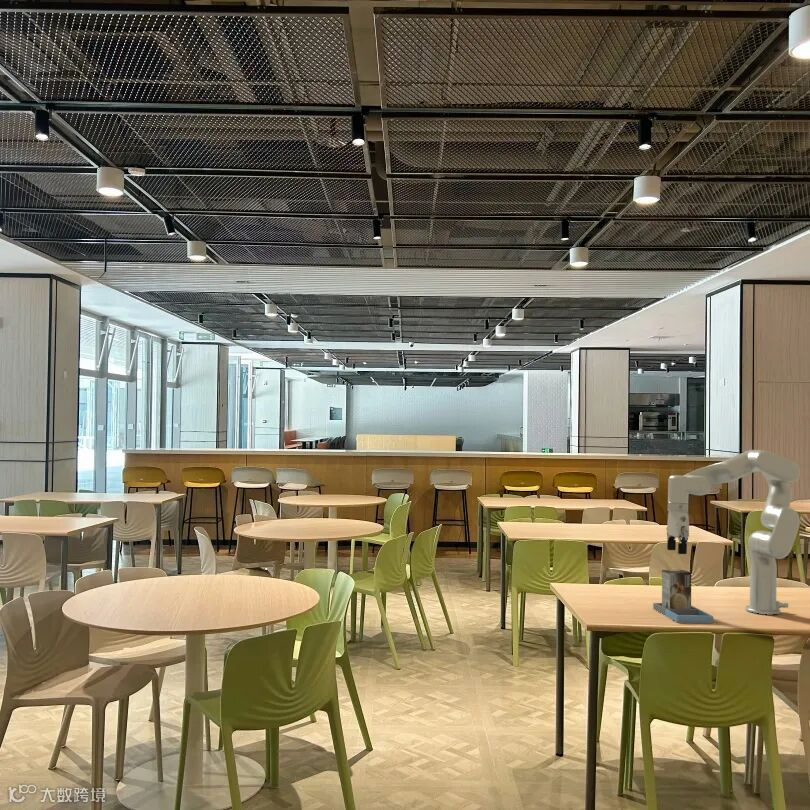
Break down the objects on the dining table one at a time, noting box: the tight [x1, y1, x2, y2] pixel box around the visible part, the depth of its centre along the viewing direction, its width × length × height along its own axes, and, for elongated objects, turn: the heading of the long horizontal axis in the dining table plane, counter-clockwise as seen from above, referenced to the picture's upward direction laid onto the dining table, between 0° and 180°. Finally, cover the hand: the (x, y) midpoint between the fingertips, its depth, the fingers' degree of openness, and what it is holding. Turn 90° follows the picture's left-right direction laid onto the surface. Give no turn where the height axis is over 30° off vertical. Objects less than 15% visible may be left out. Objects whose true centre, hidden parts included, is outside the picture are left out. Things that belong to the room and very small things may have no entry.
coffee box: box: [661, 569, 692, 609], centre depth 306 cm, size 9×6×16 cm
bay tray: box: [652, 602, 714, 624], centre depth 300 cm, size 14×22×2 cm, turn 5°
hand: (676, 551), depth 306 cm, fingers open, 9 cm apart
